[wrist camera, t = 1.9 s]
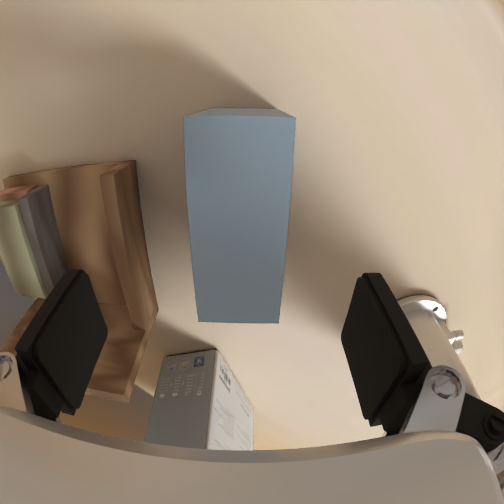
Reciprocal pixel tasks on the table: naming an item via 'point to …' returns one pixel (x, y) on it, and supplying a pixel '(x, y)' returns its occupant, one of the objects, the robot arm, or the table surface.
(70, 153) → the table surface
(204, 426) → the hard drive box
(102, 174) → the shelf
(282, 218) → the book
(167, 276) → the table surface
